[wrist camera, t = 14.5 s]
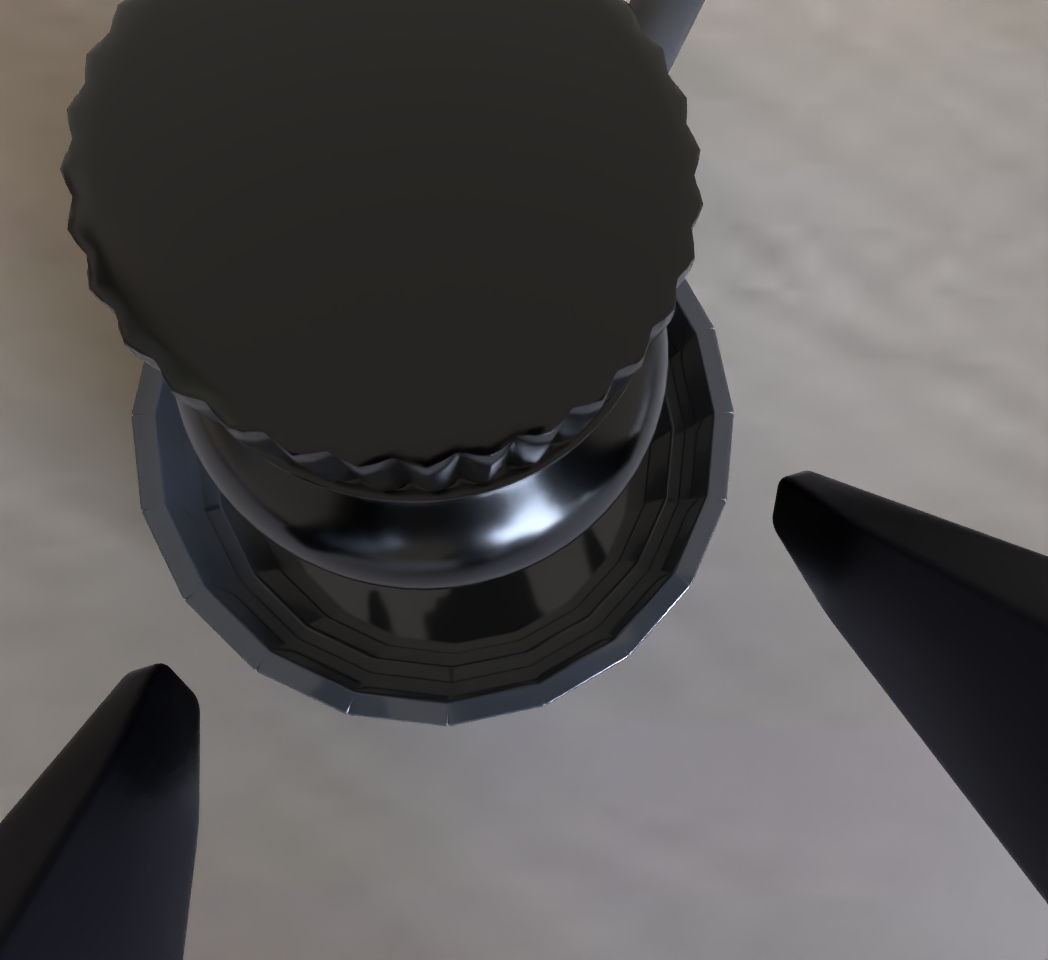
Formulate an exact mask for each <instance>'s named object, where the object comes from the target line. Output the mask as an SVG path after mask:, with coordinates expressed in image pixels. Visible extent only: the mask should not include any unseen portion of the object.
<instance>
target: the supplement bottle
mask: <svg viewBox="0 0 1048 960" xmlns="http://www.w3.org/2000/svg"><path fill="white" fill-rule="evenodd" d="M67 113H68V121H69V127H70V131H71V135H72V141H71V144H70V146H69V149H68V151H67V153H66V154H65V157H64V159H63V162H62V165H61V168H60V170H61V172H62V175H63V178H64V180H65V183H66V185H67V187H68V189H69V191H70V193H71V195H72V202H71V207H70V212H69V220H68V228H67V229H68V231H69V233H70V234H71V236H72V237H73V239H74V240H75V242H76V243H77V244H78V246H79V247H80V248H81V249H82V250H83V251H84V252H85V253H86V255H87V262H88V270H87V276H88V285H89V290H90V291H91V292H92V293H93V294H94V296H95V297H96V298H97V299H98V300H99V301H100V302H101V303H102V304H104V305H105V306H106V307H107V308H108V309H109V310H110V311H111V312H113V313H114V314H115V315H116V317H117V320H118V328H119V331H120V333H121V336H122V339H123V342H124V344H125V346H126V347H127V348H128V349H129V350H130V351H131V352H132V353H133V354H134V355H135V356H137V357H138V358H140V359H141V360H143V361H144V362H146V363H147V364H149V365H151V366H152V367H154V368H156V369H157V370H159V371H160V372H161V375H162V377H163V379H164V381H165V382H166V384H167V385H168V387H169V389H170V390H171V392H172V393H173V394H174V395H175V397H176V402H177V405H178V408H179V412H180V415H181V418H182V421H183V425H184V428H185V430H186V432H187V435H188V437H189V439H190V442H191V444H192V446H193V448H194V451H195V452H196V454H197V456H198V458H199V460H200V461H201V463H202V465H203V467H204V468H205V470H206V472H207V473H208V475H209V476H210V478H211V479H212V480H213V482H214V483H215V485H216V486H217V487H218V489H219V490H220V492H221V493H222V494H223V495H224V496H225V498H226V499H227V500H228V501H229V502H230V503H231V504H232V505H233V507H234V508H235V509H236V510H237V511H238V512H239V513H240V514H241V515H242V516H243V517H244V518H245V519H246V520H247V521H248V522H249V523H250V524H252V525H253V526H254V527H255V528H256V529H257V530H258V531H259V532H260V533H262V534H263V535H265V536H266V537H267V538H269V539H270V540H271V541H273V542H274V543H275V544H277V545H278V546H279V547H281V548H283V549H284V550H286V551H288V552H289V553H291V554H293V555H294V556H296V557H298V558H300V559H301V560H303V561H305V562H307V563H309V564H312V565H314V566H316V567H318V568H320V569H322V570H325V571H327V572H330V573H333V574H336V575H339V576H342V577H344V578H347V579H350V580H354V581H358V582H363V583H367V584H371V585H375V586H382V587H389V588H397V589H407V590H442V589H455V588H461V587H467V586H474V585H479V584H483V583H486V582H490V581H494V580H498V579H501V578H504V577H507V576H509V575H512V574H515V573H517V572H520V571H523V570H525V569H527V568H529V567H531V566H533V565H535V564H537V563H539V562H541V561H543V560H545V559H547V558H549V557H550V556H552V555H554V554H555V553H557V552H558V551H560V550H562V549H563V548H565V547H566V546H568V545H569V544H571V543H572V542H573V541H575V540H576V539H577V538H578V537H580V536H581V535H582V534H584V533H585V532H586V531H587V530H589V529H590V528H591V527H592V526H593V525H594V524H595V523H596V522H597V521H598V520H599V519H600V518H601V517H602V516H603V515H604V514H605V513H606V512H607V511H608V510H609V509H610V507H611V506H612V505H613V504H614V503H615V502H616V500H617V499H618V498H619V497H620V496H621V494H622V493H623V491H624V490H625V489H626V487H627V486H628V484H629V483H630V481H631V480H632V479H633V477H634V475H635V474H636V472H637V470H638V468H639V466H640V465H641V463H642V461H643V459H644V457H645V455H646V453H647V451H648V448H649V446H650V444H651V441H652V439H653V437H654V434H655V431H656V427H657V424H658V421H659V418H660V415H661V411H662V407H663V402H664V397H665V392H666V385H667V375H668V336H667V325H668V324H669V323H670V321H671V319H672V317H673V314H674V311H675V305H676V298H677V287H678V286H679V285H680V283H681V282H682V281H683V279H684V278H685V277H686V275H687V274H688V272H689V271H690V269H691V267H692V265H693V262H694V259H695V256H694V241H693V234H692V230H693V228H694V226H695V224H696V221H697V219H698V217H699V215H700V212H701V209H702V206H703V202H702V198H701V194H700V191H699V189H698V187H697V184H696V180H695V176H694V174H695V171H696V168H697V165H698V160H699V155H700V149H699V147H698V145H697V143H696V141H695V138H694V137H693V135H692V133H691V131H690V130H689V128H688V126H687V124H686V120H687V98H686V97H685V95H684V94H683V93H682V91H681V90H680V89H679V87H678V86H677V85H675V83H674V82H673V81H672V79H671V78H670V77H669V75H668V71H667V65H666V60H665V56H664V52H663V49H662V48H661V47H660V46H659V45H658V44H657V43H656V42H655V41H654V40H652V39H651V38H649V37H648V36H647V35H646V34H645V33H644V32H643V31H642V30H641V29H640V26H639V24H638V21H637V18H636V16H635V14H634V12H633V10H632V7H631V5H630V4H628V3H627V2H625V1H624V0H124V1H123V2H122V3H120V4H119V5H118V6H117V9H116V12H115V15H114V18H113V22H112V26H111V30H110V32H109V33H108V34H107V35H106V36H105V37H104V38H103V39H102V40H101V41H100V42H99V43H97V44H96V45H95V46H94V47H93V48H92V49H91V50H90V51H89V52H88V53H87V57H86V66H85V84H84V86H83V87H82V89H81V90H80V92H79V93H78V94H77V95H76V96H75V98H74V99H73V101H72V102H71V104H70V105H69V107H68V109H67Z"/></svg>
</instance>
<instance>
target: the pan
mask: <svg viewBox="0 0 1048 960" xmlns="http://www.w3.org/2000/svg"><path fill="white" fill-rule="evenodd" d="M667 336H668V375H667V385H666V392H665V397H664V402H663V407H662V411H661V415H660V418H659V421H658V424H657V427H656V431H655V434H654V437H653V439H652V441H651V444H650V446H649V448H648V451H647V453H646V455H645V457H644V459H643V461H642V463H641V465H640V466H639V468H638V470H637V472H636V474H635V475H634V477H633V479H632V480H631V481H630V483H629V484H628V486H627V487H626V489H625V490H624V491H623V493H622V494H621V496H620V497H619V498H618V499H617V500H616V502H615V503H614V504H613V505H612V506H611V507H610V509H609V510H608V511H607V512H606V513H605V514H604V515H603V516H602V517H601V518H600V519H599V520H598V521H597V522H596V523H595V524H594V525H593V526H592V527H591V528H590V529H589V530H587V531H586V532H585V533H584V534H582V535H581V536H580V537H578V538H577V539H576V540H575V541H573V542H572V543H571V544H569V545H568V546H566V547H565V548H563V549H562V550H560V551H558V552H557V553H555V554H554V555H552V556H550V557H549V558H547V559H545V560H543V561H541V562H539V563H537V564H535V565H533V566H531V567H529V568H527V569H525V570H523V571H520V572H517V573H515V574H512V575H509V576H507V577H504V578H501V579H498V580H494V581H490V582H486V583H483V584H479V585H474V586H467V587H461V588H455V589H442V590H407V589H397V588H389V587H382V586H375V585H371V584H367V583H363V582H358V581H354V580H350V579H347V578H344V577H342V576H339V575H336V574H333V573H330V572H327V571H325V570H322V569H320V568H318V567H316V566H314V565H312V564H309V563H307V562H305V561H303V560H301V559H300V558H298V557H296V556H294V555H293V554H291V553H289V552H288V551H286V550H284V549H283V548H281V547H279V546H278V545H277V544H275V543H274V542H273V541H271V540H270V539H269V538H267V537H266V536H265V535H263V534H262V533H260V532H259V531H258V530H257V529H256V528H255V527H254V526H253V525H252V524H250V523H249V522H248V521H247V520H246V519H245V518H244V517H243V516H242V515H241V514H240V513H239V512H238V511H237V510H236V509H235V508H234V507H233V505H232V504H231V503H230V502H229V501H228V500H227V499H226V498H225V496H224V495H223V494H222V493H221V492H220V490H219V489H218V487H217V486H216V485H215V483H214V482H213V480H212V479H211V478H210V476H209V475H208V473H207V472H206V470H205V468H204V467H203V465H202V463H201V461H200V460H199V458H198V456H197V454H196V452H195V451H194V448H193V446H192V444H191V442H190V439H189V437H188V435H187V432H186V430H185V428H184V425H183V421H182V418H181V415H180V412H179V408H178V405H177V402H176V397H175V395H174V394H173V393H172V392H171V390H170V389H169V387H168V385H167V384H166V382H165V381H164V379H163V377H162V375H161V372H160V371H159V370H157V369H156V368H154V367H152V366H151V365H149V364H147V363H146V362H144V364H143V368H142V372H141V377H140V381H139V385H138V389H137V393H136V398H135V402H134V406H133V410H132V415H133V416H132V425H133V435H134V444H135V454H136V464H137V473H138V483H139V492H140V502H141V509H142V510H143V512H142V513H143V515H144V517H145V520H146V522H147V524H148V526H149V528H150V530H151V532H152V534H153V536H154V538H155V540H156V543H157V545H158V547H159V549H160V551H161V553H162V555H163V557H164V559H165V561H166V563H167V566H168V568H169V570H170V572H171V574H172V576H173V578H174V580H175V582H176V584H177V586H178V589H179V591H180V593H181V595H182V597H183V598H184V599H186V602H187V603H188V604H189V605H190V606H191V607H192V608H193V609H194V610H195V611H196V612H197V613H198V614H199V615H200V616H201V617H202V618H203V619H204V620H205V621H206V622H207V623H208V624H209V625H210V626H211V627H212V628H213V629H214V630H215V631H216V632H217V633H218V634H219V635H220V636H221V637H222V638H223V639H224V640H225V641H226V642H227V643H228V644H229V645H230V646H231V647H232V648H233V649H234V650H235V651H236V652H237V653H238V654H239V655H240V656H241V657H242V658H243V659H244V660H245V661H246V662H247V663H248V664H249V665H250V666H251V667H252V668H253V669H255V670H256V669H257V672H258V673H261V674H263V675H265V676H267V677H269V678H271V679H273V680H275V681H277V682H279V683H281V684H284V685H286V686H288V687H290V688H292V689H294V690H296V691H298V692H300V693H302V694H305V695H307V696H309V697H311V698H313V699H315V700H317V701H319V702H321V703H323V704H325V705H328V706H330V707H332V708H334V709H336V710H338V711H340V712H342V713H344V714H347V713H348V714H349V715H352V716H361V717H370V718H378V719H387V720H396V721H404V722H413V723H422V724H430V725H439V726H447V725H449V726H453V725H458V724H462V723H467V722H472V721H476V720H481V719H486V718H490V717H495V716H500V715H504V714H509V713H514V712H518V711H523V710H528V709H532V708H537V707H542V706H544V705H545V704H549V703H551V702H553V701H554V700H556V699H558V698H560V697H561V696H563V695H565V694H566V693H568V692H570V691H571V690H573V689H575V688H576V687H578V686H580V685H582V684H583V683H585V682H587V681H588V680H590V679H592V678H593V677H595V676H597V675H598V674H600V673H602V672H604V671H605V670H607V669H609V668H610V667H612V666H614V665H615V664H617V663H619V662H620V661H622V660H624V659H626V658H627V657H628V655H630V654H632V653H633V652H634V650H635V649H636V648H637V647H638V646H639V645H640V644H641V642H642V641H643V640H644V639H645V638H646V637H647V635H648V634H649V633H650V632H651V631H652V630H653V629H654V627H655V626H656V625H657V624H658V623H659V622H660V621H661V619H662V618H663V617H664V616H665V615H666V614H667V613H668V611H669V610H670V609H671V608H672V607H673V606H674V604H675V603H676V602H677V601H678V600H679V599H680V598H681V596H682V595H683V594H684V593H685V592H686V591H687V590H688V588H689V587H690V584H691V583H692V582H693V580H694V577H695V575H696V573H697V570H698V568H699V566H700V563H701V561H702V558H703V556H704V554H705V551H706V549H707V547H708V544H709V542H710V539H711V537H712V535H713V532H714V530H715V527H716V525H717V523H718V520H719V518H720V516H721V513H722V511H723V508H724V506H725V503H726V502H725V501H726V499H727V489H728V477H729V465H730V452H731V440H732V428H733V416H734V415H733V414H732V413H733V407H732V403H731V398H730V394H729V390H728V385H727V381H726V377H725V372H724V368H723V364H722V359H721V355H720V351H719V346H718V342H717V338H716V333H715V330H714V329H713V325H712V324H711V322H710V320H709V319H708V317H707V315H706V313H705V312H704V310H703V308H702V307H701V305H700V303H699V301H698V300H697V298H696V296H695V295H694V293H693V291H692V289H691V288H690V286H689V284H688V283H687V281H686V279H685V278H684V279H683V281H682V282H681V283H680V285H679V286H678V287H677V298H676V305H675V311H674V314H673V317H672V319H671V321H670V323H669V324H668V325H667Z"/></svg>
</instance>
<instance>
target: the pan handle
mask: <svg viewBox="0 0 1048 960" xmlns="http://www.w3.org/2000/svg"><path fill="white" fill-rule="evenodd" d="M704 1H705V0H631V1H630V3H629V4H630V5H631V7H632V10H633V12H634V14H635V16H636V18H637V21H638V24H639V26H640V29H641V30H642V31H643V32H644V33H645V34H646V35H647V36H648V37H649V38H651V39H652V40H654V41H655V42H656V43H657V44H658V45H659V46H660V47H661V48H662V49H663V52H664V56H665V60H666V65H667V71H668V73H669V71H670V69H671V67H672V65H673V63H674V61H675V59H676V57H677V55H678V53H679V51H680V49H681V47H682V45H683V43H684V41H685V39H686V37H687V35H688V33H689V31H690V29H691V27H692V25H693V23H694V21H695V19H696V17H697V15H698V13H699V11H700V9H701V7H702V5H703V3H704Z"/></svg>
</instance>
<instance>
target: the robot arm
mask: <svg viewBox="0 0 1048 960" xmlns="http://www.w3.org/2000/svg"><path fill="white" fill-rule="evenodd" d="M773 525H774V528H775V531H776V533H777V534H778V536H779V538H780V539H781V541H782V543H783V544H784V546H785V548H786V549H787V551H788V552H789V554H790V556H791V557H792V559H793V561H794V562H795V564H796V566H797V567H798V569H799V571H800V572H801V574H802V575H803V577H804V579H805V580H806V582H807V584H808V585H809V587H810V589H811V590H812V592H813V594H814V595H815V597H816V598H817V600H818V602H819V603H820V605H821V606H822V608H823V609H824V611H825V612H826V614H827V615H828V617H829V618H830V619H831V621H832V622H833V624H834V625H835V626H836V628H837V629H838V630H839V632H840V633H841V634H842V636H843V637H844V638H845V639H846V641H847V642H848V643H849V645H850V646H851V647H852V649H853V650H854V651H855V653H856V654H857V655H858V656H859V658H860V659H861V660H862V662H863V663H864V664H865V666H866V667H867V668H868V670H869V671H870V672H871V673H872V675H873V676H874V677H875V679H876V680H877V681H878V683H879V684H880V685H881V687H882V688H883V689H884V690H885V692H886V693H887V694H888V696H889V697H890V698H891V700H892V701H893V702H894V704H895V705H896V706H897V707H898V709H899V710H900V711H901V713H902V714H903V715H904V717H905V718H906V719H907V721H908V722H909V723H910V724H911V726H912V727H913V728H914V730H915V731H916V732H917V734H918V735H919V736H920V738H921V739H922V740H923V741H924V743H925V744H926V745H927V747H928V748H929V749H930V751H931V752H932V753H933V755H934V756H935V757H936V758H937V760H938V761H939V762H940V764H941V765H942V766H943V768H944V769H945V770H946V772H947V773H948V774H949V775H950V777H951V778H952V779H953V781H954V782H955V783H956V785H957V786H958V787H959V789H960V790H961V791H962V792H963V794H964V795H965V796H966V798H967V799H968V800H969V802H970V803H971V804H972V806H973V807H974V808H975V809H976V811H977V812H978V813H979V815H980V816H981V817H982V819H983V820H984V821H985V823H986V824H987V825H988V826H989V828H990V829H991V830H992V832H993V833H994V834H995V836H996V837H997V838H998V840H999V841H1000V842H1001V843H1002V845H1003V846H1004V847H1005V849H1006V850H1007V851H1008V853H1009V854H1010V855H1011V857H1012V858H1013V859H1014V860H1015V862H1016V863H1017V864H1018V866H1019V867H1020V868H1021V870H1022V871H1023V872H1024V874H1025V875H1026V876H1027V877H1028V879H1029V880H1030V881H1031V883H1032V884H1033V885H1034V887H1035V888H1036V889H1037V891H1038V892H1039V893H1040V894H1041V896H1042V897H1043V898H1044V900H1045V901H1046V902H1047V904H1048V556H1045V555H1042V554H1039V553H1037V552H1034V551H1031V550H1028V549H1026V548H1023V547H1020V546H1017V545H1014V544H1012V543H1009V542H1006V541H1003V540H1001V539H998V538H995V537H992V536H989V535H987V534H984V533H981V532H978V531H976V530H973V529H970V528H967V527H964V526H962V525H959V524H956V523H953V522H950V521H948V520H945V519H942V518H939V517H937V516H934V515H931V514H928V513H925V512H923V511H920V510H917V509H914V508H912V507H909V506H906V505H903V504H900V503H898V502H895V501H892V500H889V499H887V498H884V497H881V496H878V495H875V494H873V493H870V492H867V491H864V490H862V489H859V488H856V487H853V486H850V485H848V484H845V483H842V482H839V481H836V480H834V479H831V478H828V477H825V476H823V475H820V474H817V473H814V472H811V471H803V472H799V473H796V474H793V475H789V476H786V477H784V478H782V479H781V481H780V482H779V484H778V488H777V494H776V500H775V505H774V511H773ZM199 772H200V708H199V703H198V700H197V698H196V696H195V694H194V693H193V692H192V691H191V690H190V689H189V687H188V686H187V685H186V684H185V683H184V682H183V681H182V680H181V679H180V678H179V677H178V676H177V675H176V674H175V672H174V671H173V670H172V669H171V668H170V667H169V666H167V665H165V664H162V663H160V664H154V665H151V666H147V667H144V668H141V669H137V670H134V671H132V672H130V673H128V674H127V675H126V676H125V677H124V678H123V679H122V680H121V681H120V682H119V683H118V684H117V686H116V687H115V688H114V689H113V690H112V691H111V693H110V694H109V695H108V696H107V697H106V699H105V700H104V701H103V702H102V703H101V704H100V706H99V707H98V708H97V709H96V710H95V712H94V713H93V714H92V715H91V716H90V718H89V719H88V720H87V721H86V722H85V723H84V725H83V726H82V727H81V728H80V729H79V731H78V732H77V733H76V734H75V735H74V736H73V738H72V739H71V740H70V741H69V742H68V744H67V745H66V746H65V747H64V748H63V749H62V751H61V752H60V753H59V754H58V755H57V757H56V758H55V759H54V760H53V761H52V762H51V764H50V765H49V766H48V767H47V768H46V770H45V771H44V772H43V773H42V774H41V775H40V777H39V778H38V779H37V780H36V781H35V783H34V784H33V785H32V786H31V787H30V788H29V790H28V791H27V792H26V793H25V794H24V796H23V797H22V798H21V799H20V800H19V801H18V803H17V804H16V805H15V806H14V807H13V809H12V810H11V811H10V812H9V813H8V814H7V816H6V817H5V818H4V819H3V820H2V822H1V823H0V960H183V954H184V945H185V937H186V929H187V920H188V912H189V903H190V895H191V887H192V878H193V870H194V861H195V853H196V845H197V834H198V824H199Z"/></svg>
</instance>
